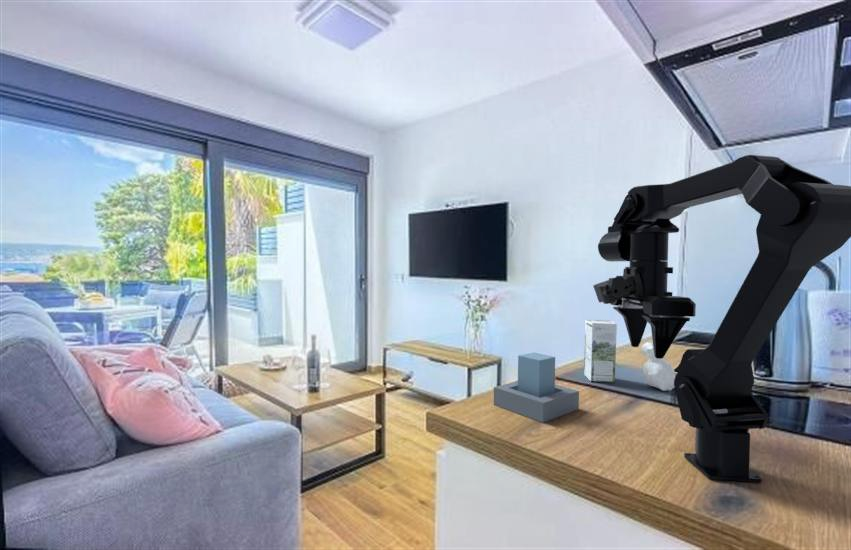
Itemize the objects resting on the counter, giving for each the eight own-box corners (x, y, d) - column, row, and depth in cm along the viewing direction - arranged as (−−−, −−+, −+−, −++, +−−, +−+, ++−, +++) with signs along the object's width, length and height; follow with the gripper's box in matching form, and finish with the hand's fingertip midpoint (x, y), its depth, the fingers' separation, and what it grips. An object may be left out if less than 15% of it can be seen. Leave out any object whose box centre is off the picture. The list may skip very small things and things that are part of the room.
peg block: (554, 408, 79) (555, 356, 78) (538, 413, 75) (539, 360, 75) (533, 401, 82) (534, 352, 82) (517, 406, 79) (518, 355, 79)
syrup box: (607, 376, 102) (608, 319, 101) (615, 383, 96) (617, 322, 95) (583, 375, 102) (584, 318, 102) (590, 382, 96) (592, 322, 96)
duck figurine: (662, 389, 99) (632, 349, 103) (692, 375, 95) (659, 334, 99) (652, 402, 89) (619, 357, 93) (684, 386, 85) (649, 340, 90)
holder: (578, 409, 78) (579, 391, 78) (542, 422, 71) (543, 403, 71) (529, 393, 87) (530, 377, 87) (493, 404, 80) (493, 387, 80)
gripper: (583, 261, 79) (582, 340, 79) (619, 259, 60) (617, 363, 61) (643, 262, 78) (641, 342, 78) (699, 260, 59) (696, 366, 59)
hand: (646, 352), depth 69 cm, fingers open, 9 cm apart
